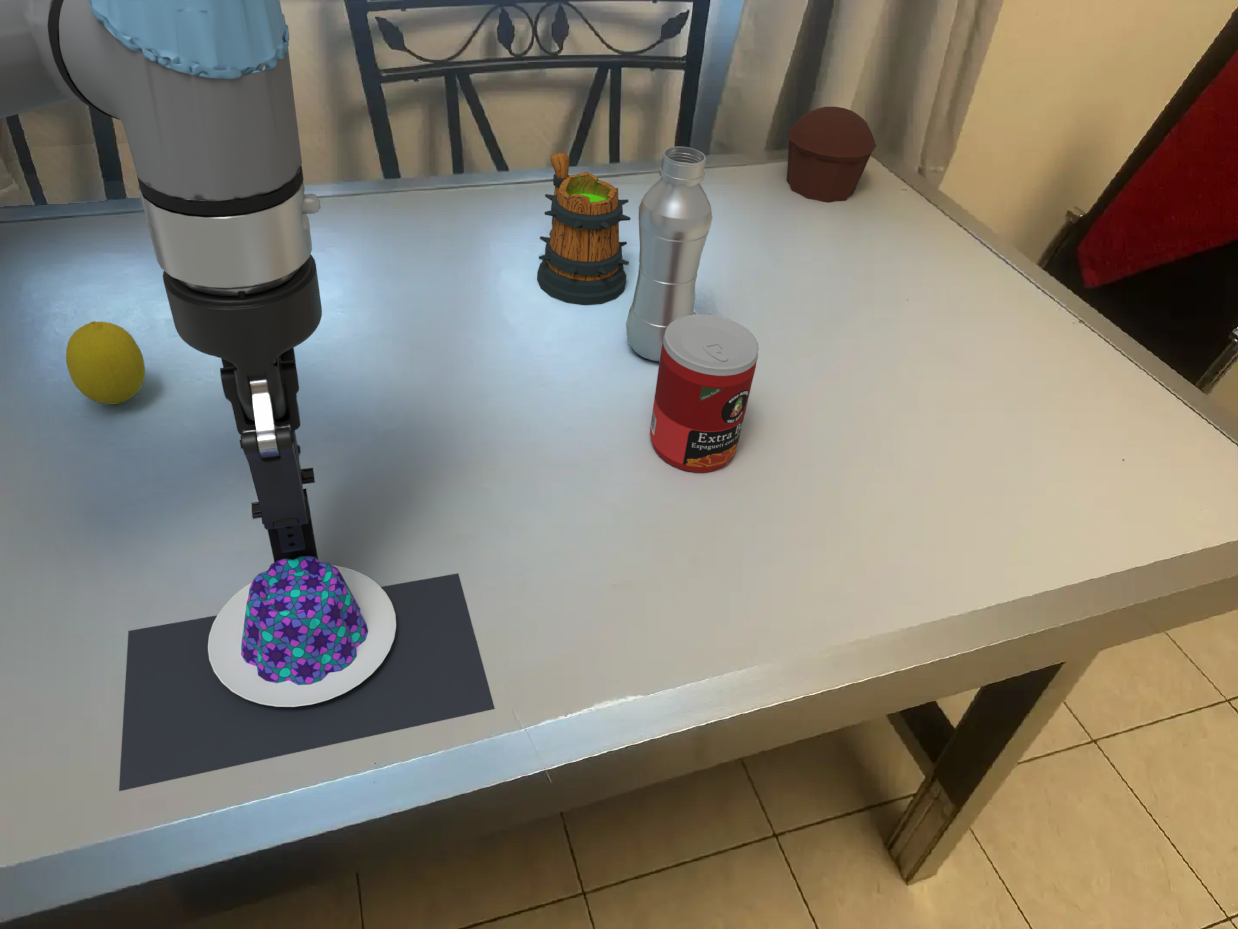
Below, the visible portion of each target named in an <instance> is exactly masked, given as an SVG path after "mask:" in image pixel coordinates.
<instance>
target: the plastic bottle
mask: <svg viewBox="0 0 1238 929" xmlns="http://www.w3.org/2000/svg"><path fill="white" fill-rule="evenodd" d="M706 162H707V156H706V155H705V153H703V152H702V151H700V150H697V149H696V148H693V147H689V146H688V147H687V146H670V147H668V148H666V149H664V150H663V152H662V154H661V162H660V166H659V168H658V175H659V177H660V178H659V179H658V180H657V181H656V182H655V183H654V184H653V185H652V186H651V187H650V188H649V189H648V190H647V192H645V194H644V195H643V197H642V198H641V200H640V204H639V206H638V235H639V254H638V255H639V256H638V273H637V274H638V275H637V279H636V283H635V284H636V285H635V290H634V294H633V298H632V303H631V305H630V308H629V311H628V314H627V318H626V322H625V330H626V331H625V333H626V339H627V342H628V344H629V345H630V347H631V348H632V350H633V351H634V352H635V353H636V354H637V355H639V356H641V357H643V358H645V359H648V360H650V361H654V362H655V361H656V362H660V355H661V348H662V343H663V337H664V335H665V331H666V328H667V326H668V325H669V324H670V323H671V322H673V321H674V320H675V319H678V318H680V317H683V316H687V315H694V314H695V298H696V297H695V295H696V282H697V277H698V271H699V268H700V267H699V266H700V264H701V258H702V254H703V251H704V248H705V246H706V245H705V244H706V242H707V239H708V236H709V233H710V229H711V225H712V222H713V211H712V205H711V203H710V201H709V198H708V197H707V196H708V195H707V194H706V192H705V190H704V189H703V187H702V185H701V183H702V182H703V181H704V179H705V173H706V172H705V168H706Z"/></svg>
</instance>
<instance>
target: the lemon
mask: <svg viewBox="0 0 1238 929" xmlns="http://www.w3.org/2000/svg"><path fill="white" fill-rule="evenodd" d="M66 344H67V345H66V348H65V350H66V352H65V359H66V361H65V362H66V366H67V370H68V373H69V377H70V379H71V381H72V383H73V385H74V386H75V387H76V389H77V390H78V391H79V392H80V393H81V394H82V395H83V396H85V397H86V398H88V399H89V400H91V401H93V402H97V403H100V404H104V405H121V404H122V403H123V402H126V401H128V400H130V399H131V398H132V397H134V396H135V395H136V394H137V393H138V392H139V391H140V389H141V388H142V386H143V383H144V380H145V377H146V376H145V375H146V368H145V360H144V359H145V358H144V355H143V353H142V351H141V349H140V347H139V345H138V343H137V342H136V340H135V339H134V338H133V336H132V335H131V334H130V333H129V332H128V331H127V330H126V329H125V328H123V327H121V325H118V324H115V323H113V322H109V321H95V320H92V321H90V322H88V323H85V324H83V325H82V326H80V327H78V328H77V329H76V330H75V331H74V332H73V333H72V334H71V336H70V337H69V339H68V341H67V343H66Z"/></svg>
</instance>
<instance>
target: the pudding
mask: <svg viewBox="0 0 1238 929" xmlns="http://www.w3.org/2000/svg"><path fill="white" fill-rule="evenodd" d="M381 587H382V586H381V585H379V584H378V582H376V581H375V580H373V579H372V578H370V577H369V576H368V575H366V574H363V573H361V572H359V571H357V570H354V569H352V568H348V567H345V566H342V565H341V566H340V565H334V564H332V563H330V562H328V561H326V562H325V561H320V560H319V558H318V559H317V558H315V557H312V556H300V557H298V558H296V559H294V560H291V559H282V560H278V561H276V562H274V561H273V562H272V563H271V564H270V565H269V567H268V569H267V570H264V571H262V572H259V573H258V574H257V575H256V576H255V577H254V578H253V579H252V581H251V582H250V583H248V584H246V585H245V586H244V587H242V588H241V589H239V590H238V591H236V593H235V594H234V595H233V596H231V597H230V598H229V599H228V600H227V602H226V603H225V604H224V605H223V606H222V608H221V609H220V610H219V612H218V614H217V615H216V616H217V617H216V619H215V621H214V622H213V625H212V628H211V631H210V634H209V641H208V653H209V660H210V663H211V665H212V668H213V670H214V672H215V674H216V675H217V677H218V678H219V679H220V681H221V682H222V683H223V684H224V685H225V686H226V687H228V688H229V689H230V690H231V691H232V692H234V693H236V694H237V695H239V696H241V697H243V698H245V699H247V700H250V701H253V702H256V703H259V704H264V705H270V706H276V707H296V706H303V705H311V704H315V703H319V702H322V701H326V700H329V699H332V698H334V697H336V696H339V695H341V694H343V693H346V692H347V691H349V690H351V689H352V688H354V687H356V686H357V685H359V684H360V683H361V682H363V681H364V680H365V679H366V678H368V677H369V676H370V675H371V674H372V673H373V672H374V671H375V670H376V669H377V668H378V667H379V665H380V664H381V663H382V662H383V660H384V659H385V657H386V655H387V654H388V652H389V651H390V648H391V645H392V643H393V640H394V637H395V630H396V617H395V611H394V608H393V605H392V602H391V601H390V599H389V597H388V596H387V594H386V592H385V591H384V590H383V589H382V588H381Z"/></svg>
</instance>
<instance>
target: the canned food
mask: <svg viewBox="0 0 1238 929" xmlns="http://www.w3.org/2000/svg"><path fill="white" fill-rule="evenodd" d="M759 349H760V347H759V343H758V340H757V337H755V335H754V334H753V333H752V332H751V331H750V330H748V329H747V328H746V327H745V326H743V325H742V324H740V323H738V322H736V321H734V320H732V319H729V318H726V317H724V316H719V315H715V314H708V313H707V314H706V313H694V315H687V316H683V317H680V318H678V319H675V320H674V321H673V322H671V323H670V324H669V325H668V326H667V328H666V331H665V335H664V337H663V343H662V348H661V355H660V361H658V362H659V363H658V370H657V377H656V385H655V391H654V398H653V406H652V412H651V419H650V421H651V422H650V427H649V437H650V441H651V445H652V448H653V450H654V452H655V453H656V455H658V457H660V459H661V460H663V461H664V462H666V463H667V464H669V465H670V466H672V467H675V468H676V469H679V470H683V471H686V472H692V473H709V472H713V471H717V470H720V469H721V468H723V467H725V466H726V465H728V463H730V461H731V460H732V459H733V457H734V455H735V453H736V452H737V449H738V445H739V442H740V436H741V431H742V428H743V424H744V419H745V415H746V411H747V406H748V402H749V398H750V393H751V389H752V384H753V382H754V376H755V372H756V369H757V362H758V359H759V358H758V357H759Z"/></svg>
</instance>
